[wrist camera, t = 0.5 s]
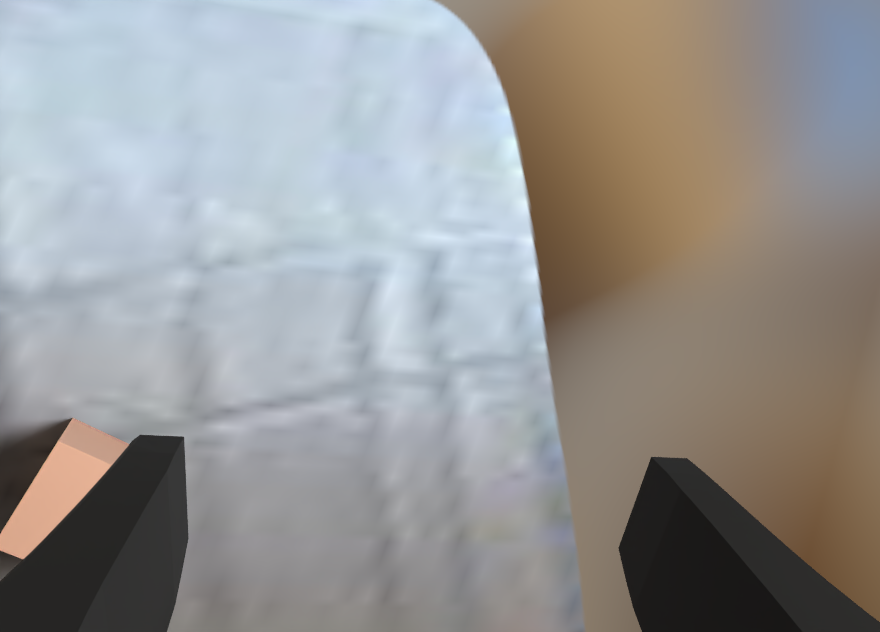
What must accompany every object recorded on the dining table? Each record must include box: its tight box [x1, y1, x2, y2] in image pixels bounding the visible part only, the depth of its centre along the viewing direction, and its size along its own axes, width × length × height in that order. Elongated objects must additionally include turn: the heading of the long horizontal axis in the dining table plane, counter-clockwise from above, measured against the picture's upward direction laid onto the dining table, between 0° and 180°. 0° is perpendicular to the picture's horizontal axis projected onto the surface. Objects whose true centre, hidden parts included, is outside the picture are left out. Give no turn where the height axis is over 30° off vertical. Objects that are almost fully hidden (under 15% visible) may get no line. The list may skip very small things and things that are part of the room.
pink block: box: [0, 418, 129, 559], centre depth 28 cm, size 4×4×6 cm
